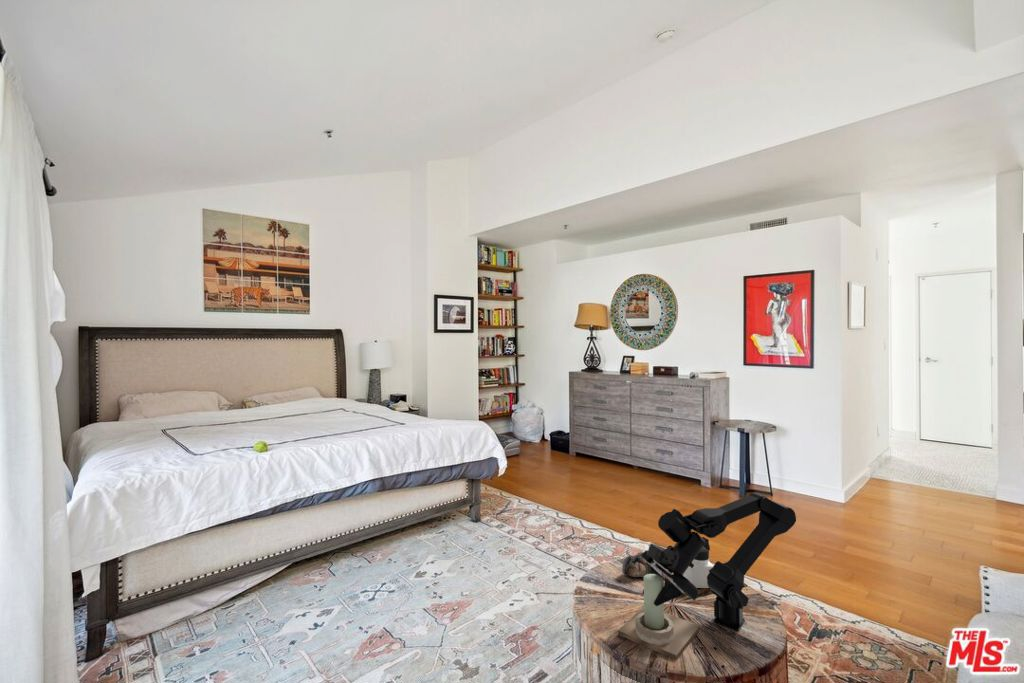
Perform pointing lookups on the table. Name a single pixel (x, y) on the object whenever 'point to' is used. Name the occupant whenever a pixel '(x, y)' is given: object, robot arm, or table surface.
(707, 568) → the medicine bottle
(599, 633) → the table surface
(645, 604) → the pale green peg
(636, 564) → the dark brown lumpy piece
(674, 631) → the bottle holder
